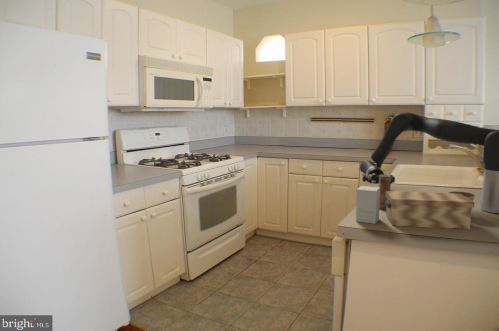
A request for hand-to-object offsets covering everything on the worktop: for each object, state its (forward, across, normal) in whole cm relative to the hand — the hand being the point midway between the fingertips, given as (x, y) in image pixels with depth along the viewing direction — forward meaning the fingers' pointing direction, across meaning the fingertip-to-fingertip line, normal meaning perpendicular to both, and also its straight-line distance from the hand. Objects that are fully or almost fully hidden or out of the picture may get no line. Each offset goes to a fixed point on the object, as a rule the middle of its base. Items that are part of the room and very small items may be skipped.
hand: (380, 181), depth 164 cm
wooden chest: (+25, +11, +9) cm, 29 cm away
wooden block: (+11, 0, +9) cm, 14 cm away
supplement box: (+30, -10, +9) cm, 33 cm away
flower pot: (+17, +28, +9) cm, 34 cm away
